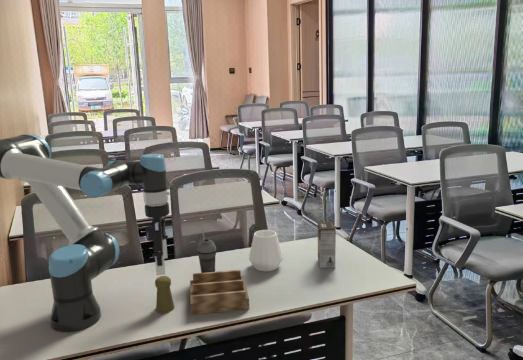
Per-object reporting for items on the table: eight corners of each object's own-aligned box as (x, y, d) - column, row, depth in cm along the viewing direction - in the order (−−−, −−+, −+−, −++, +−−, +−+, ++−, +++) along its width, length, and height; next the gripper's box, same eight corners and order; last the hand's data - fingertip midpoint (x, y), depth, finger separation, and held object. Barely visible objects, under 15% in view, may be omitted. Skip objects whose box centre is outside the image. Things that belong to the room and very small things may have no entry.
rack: (191, 314, 157) (189, 296, 156) (191, 290, 175) (189, 273, 173) (249, 308, 160) (248, 291, 158) (243, 285, 177) (243, 269, 176)
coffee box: (317, 259, 199) (317, 221, 195) (333, 258, 199) (333, 221, 195) (319, 268, 190) (319, 229, 186) (336, 267, 190) (336, 228, 186)
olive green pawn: (178, 306, 163) (175, 276, 160) (165, 314, 158) (163, 283, 156) (164, 302, 166) (162, 272, 164) (152, 310, 161) (149, 279, 159)
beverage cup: (215, 283, 179) (212, 232, 175) (196, 282, 181) (192, 231, 176) (220, 275, 186) (217, 225, 182) (202, 274, 188) (199, 225, 183)
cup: (262, 257, 202) (261, 225, 199) (289, 264, 194) (288, 231, 191) (242, 268, 192) (240, 235, 188) (270, 276, 184) (269, 241, 181)
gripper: (166, 213, 142) (172, 280, 147) (170, 192, 166) (175, 251, 171) (140, 215, 141) (147, 283, 146) (147, 194, 165) (153, 253, 170)
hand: (162, 266), depth 159 cm, fingers open, 13 cm apart
